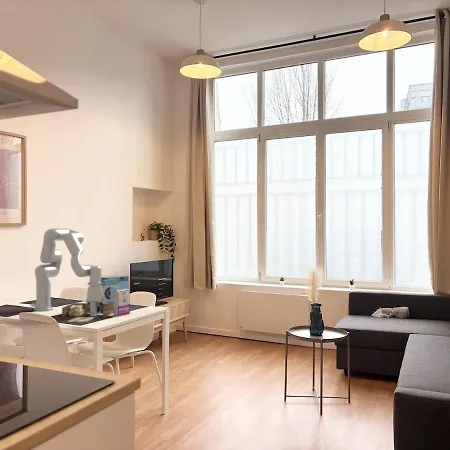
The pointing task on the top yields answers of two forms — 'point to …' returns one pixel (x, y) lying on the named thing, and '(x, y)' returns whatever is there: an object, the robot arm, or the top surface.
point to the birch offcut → (76, 308)
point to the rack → (104, 308)
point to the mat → (81, 319)
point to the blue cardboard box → (113, 286)
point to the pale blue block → (93, 309)
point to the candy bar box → (121, 302)
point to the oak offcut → (76, 313)
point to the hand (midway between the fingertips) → (95, 311)
